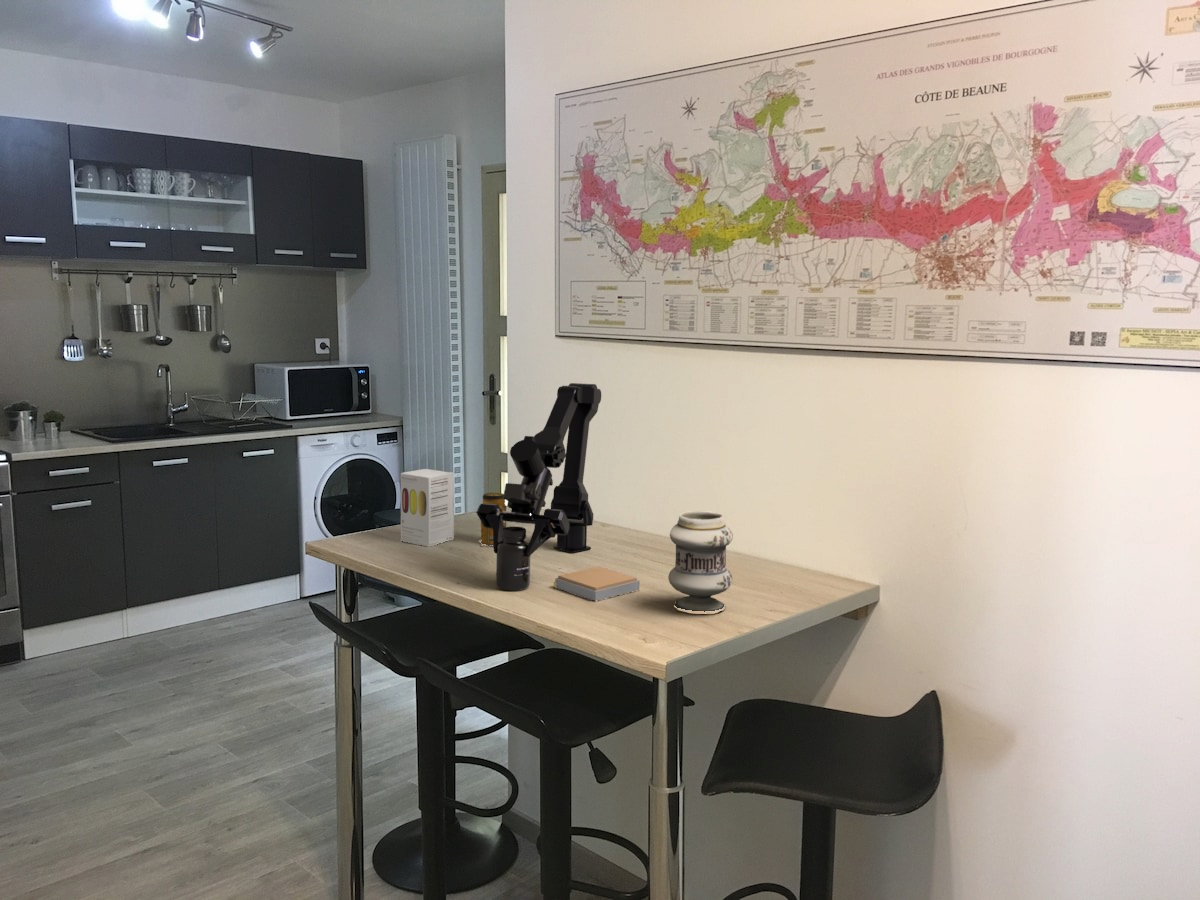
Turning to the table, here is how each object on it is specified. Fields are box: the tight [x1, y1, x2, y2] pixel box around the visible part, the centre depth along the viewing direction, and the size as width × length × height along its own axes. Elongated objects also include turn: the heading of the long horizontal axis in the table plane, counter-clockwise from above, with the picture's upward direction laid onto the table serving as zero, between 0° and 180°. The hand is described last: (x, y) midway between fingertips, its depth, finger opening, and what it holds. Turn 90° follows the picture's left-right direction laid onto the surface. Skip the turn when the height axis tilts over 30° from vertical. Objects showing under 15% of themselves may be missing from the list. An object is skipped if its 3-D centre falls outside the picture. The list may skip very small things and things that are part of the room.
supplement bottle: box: [495, 526, 531, 592], centre depth 188 cm, size 7×7×12 cm
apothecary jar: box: [667, 510, 734, 612], centre depth 177 cm, size 12×12×18 cm
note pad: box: [553, 566, 641, 602], centre depth 188 cm, size 12×12×3 cm
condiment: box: [480, 492, 507, 547], centre depth 225 cm, size 7×8×12 cm
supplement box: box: [400, 468, 455, 548], centre depth 225 cm, size 10×9×17 cm
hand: (511, 554), depth 186 cm, fingers closed on supplement bottle, 7 cm apart
